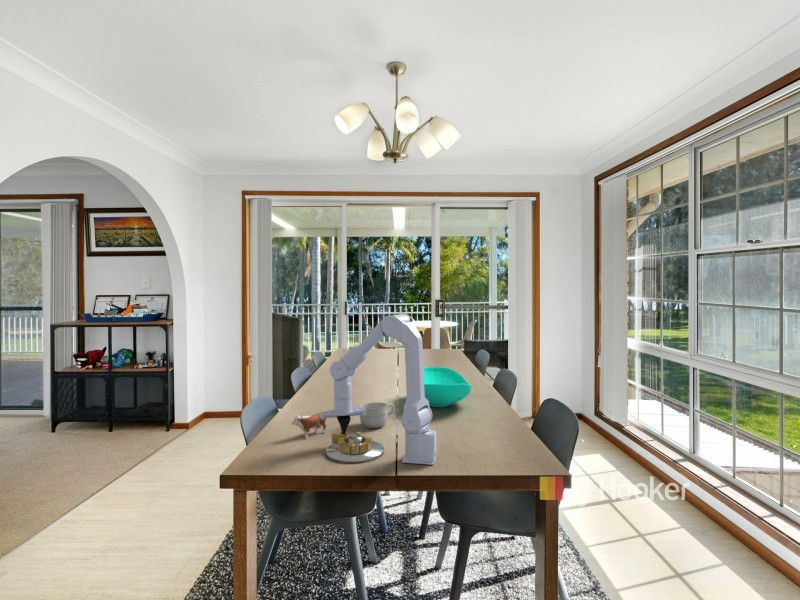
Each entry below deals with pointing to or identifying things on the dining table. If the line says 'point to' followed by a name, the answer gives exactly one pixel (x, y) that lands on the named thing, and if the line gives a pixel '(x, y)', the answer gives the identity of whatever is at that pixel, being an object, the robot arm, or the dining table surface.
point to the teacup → (375, 414)
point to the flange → (367, 456)
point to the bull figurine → (310, 423)
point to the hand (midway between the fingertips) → (343, 438)
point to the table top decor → (444, 386)
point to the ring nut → (351, 443)
